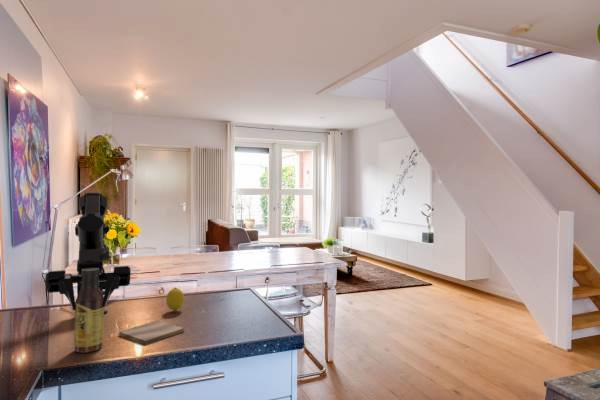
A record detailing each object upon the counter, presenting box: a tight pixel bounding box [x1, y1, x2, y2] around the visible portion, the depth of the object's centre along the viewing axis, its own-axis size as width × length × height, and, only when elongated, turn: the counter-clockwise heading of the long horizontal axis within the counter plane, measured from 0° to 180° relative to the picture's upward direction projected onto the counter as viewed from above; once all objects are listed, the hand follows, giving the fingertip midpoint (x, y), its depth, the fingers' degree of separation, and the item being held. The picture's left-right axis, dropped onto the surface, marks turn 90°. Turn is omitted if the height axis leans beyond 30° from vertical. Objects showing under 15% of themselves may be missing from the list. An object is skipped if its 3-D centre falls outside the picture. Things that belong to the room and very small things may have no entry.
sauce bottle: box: [73, 268, 105, 354], centre depth 92 cm, size 7×6×20 cm
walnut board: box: [118, 320, 185, 346], centre depth 103 cm, size 12×12×1 cm
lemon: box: [166, 287, 185, 312], centre depth 125 cm, size 6×6×8 cm
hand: (89, 307), depth 91 cm, fingers closed on sauce bottle, 6 cm apart
